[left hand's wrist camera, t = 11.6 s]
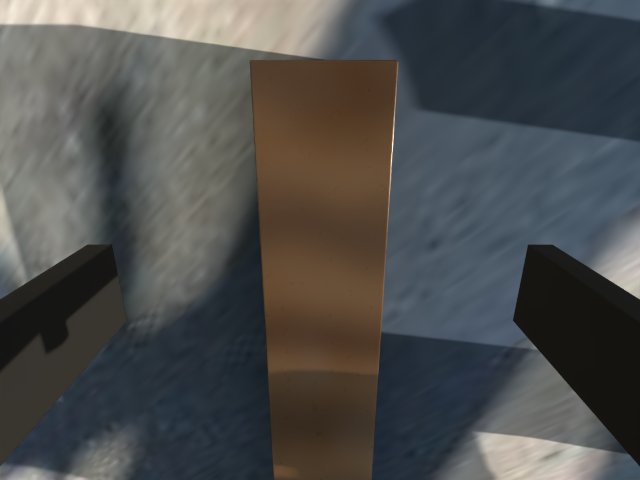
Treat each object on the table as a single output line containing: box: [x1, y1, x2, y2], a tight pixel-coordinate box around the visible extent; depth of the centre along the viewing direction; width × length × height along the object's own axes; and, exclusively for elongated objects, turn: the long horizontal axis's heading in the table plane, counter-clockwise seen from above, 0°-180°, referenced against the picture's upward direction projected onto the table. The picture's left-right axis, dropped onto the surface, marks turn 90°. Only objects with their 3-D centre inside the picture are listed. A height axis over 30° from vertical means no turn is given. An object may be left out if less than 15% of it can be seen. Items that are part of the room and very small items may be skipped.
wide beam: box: [250, 60, 398, 480], centre depth 41 cm, size 80×9×6 cm, turn 0°
